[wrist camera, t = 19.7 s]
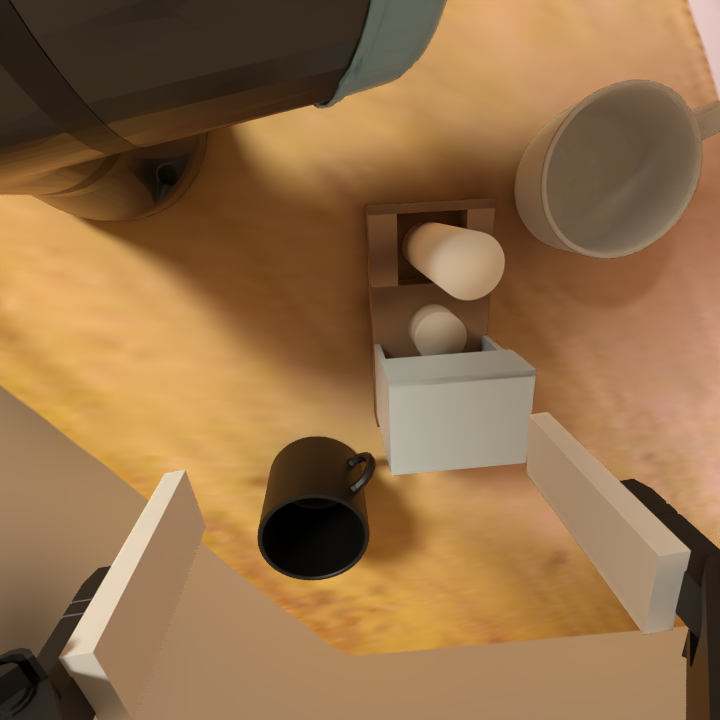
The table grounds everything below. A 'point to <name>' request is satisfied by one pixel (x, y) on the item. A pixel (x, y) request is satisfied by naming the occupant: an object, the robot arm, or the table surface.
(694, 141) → the teacup
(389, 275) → the wooden tray
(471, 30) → the table surface
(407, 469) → the cover
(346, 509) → the mug
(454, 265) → the pin
